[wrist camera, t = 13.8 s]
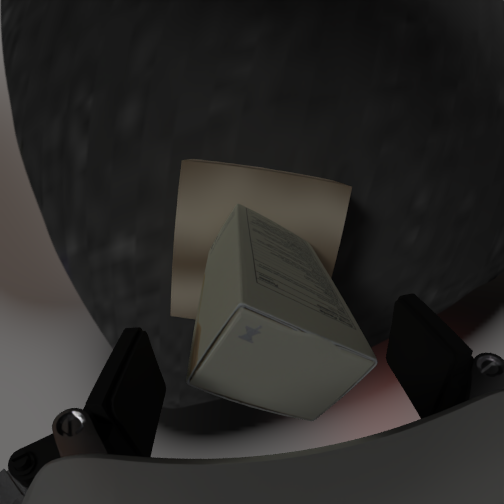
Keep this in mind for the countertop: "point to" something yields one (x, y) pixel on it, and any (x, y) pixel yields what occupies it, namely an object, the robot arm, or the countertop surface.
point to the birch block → (257, 199)
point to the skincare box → (273, 323)
